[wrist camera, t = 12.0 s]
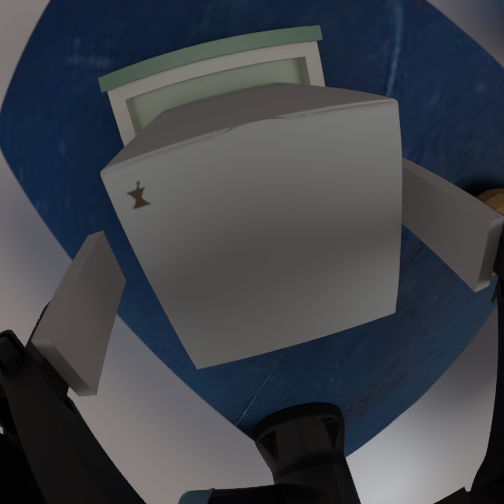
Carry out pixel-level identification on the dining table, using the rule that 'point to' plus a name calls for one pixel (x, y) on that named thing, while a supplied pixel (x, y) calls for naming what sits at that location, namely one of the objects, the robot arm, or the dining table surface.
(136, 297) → the dining table surface
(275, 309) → the supplement box
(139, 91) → the shallow square tray
